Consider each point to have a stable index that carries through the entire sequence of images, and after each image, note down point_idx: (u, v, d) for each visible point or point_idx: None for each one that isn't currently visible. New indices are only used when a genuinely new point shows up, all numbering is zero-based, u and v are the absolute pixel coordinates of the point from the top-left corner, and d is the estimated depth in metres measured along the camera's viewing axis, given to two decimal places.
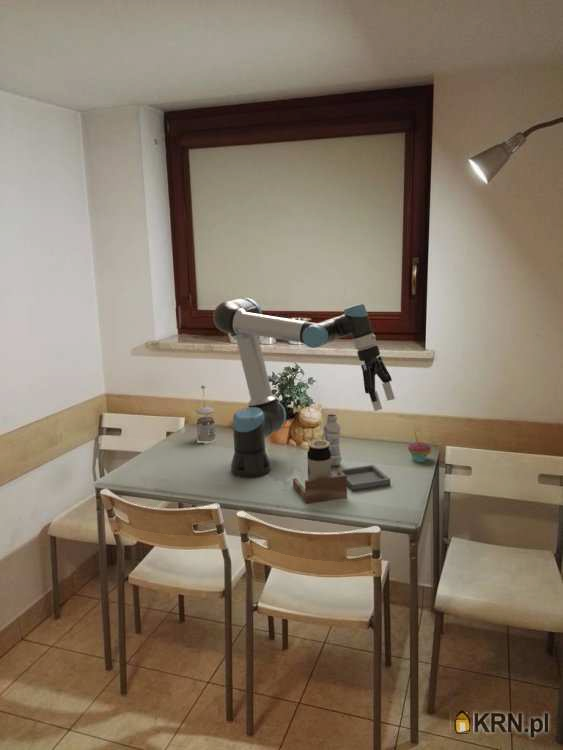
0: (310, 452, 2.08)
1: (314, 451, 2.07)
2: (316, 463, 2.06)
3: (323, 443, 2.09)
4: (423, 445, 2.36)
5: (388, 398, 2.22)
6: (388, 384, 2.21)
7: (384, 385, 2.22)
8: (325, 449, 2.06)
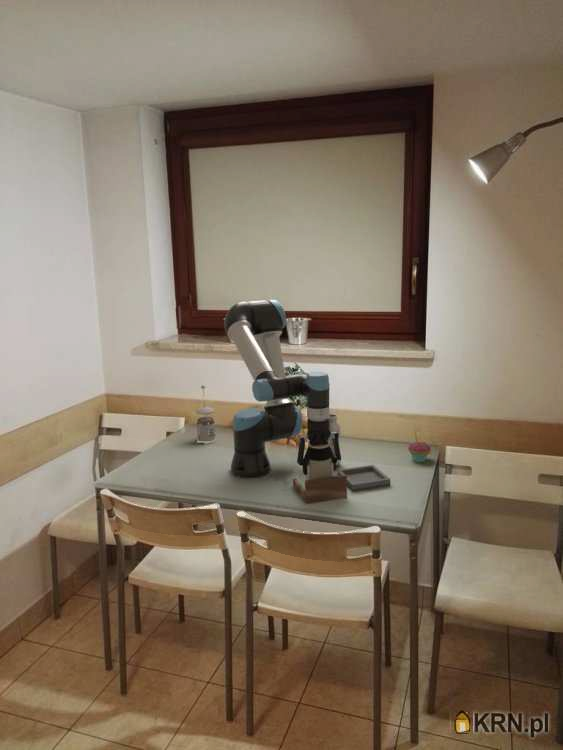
0: None
1: (314, 450, 2.07)
2: (316, 463, 2.06)
3: None
4: (423, 445, 2.36)
5: None
6: (331, 465, 2.11)
7: None
8: (325, 449, 2.06)
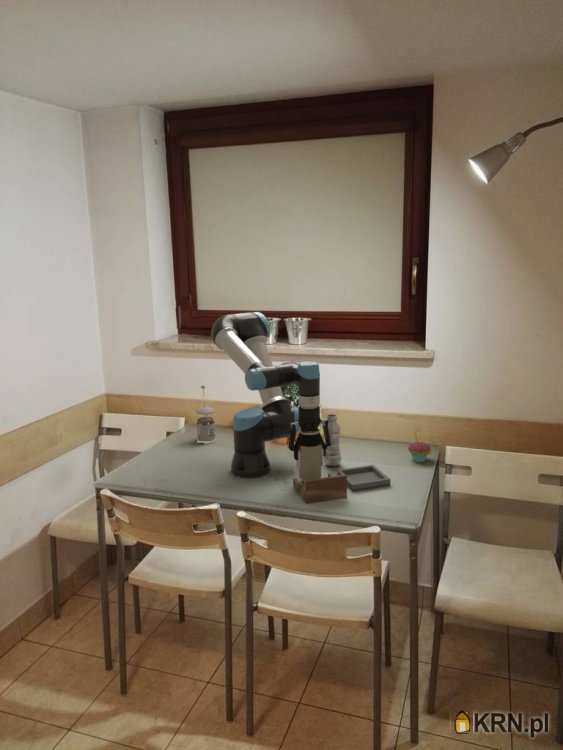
0: None
1: (304, 437, 2.15)
2: (307, 449, 2.15)
3: None
4: (423, 445, 2.36)
5: None
6: (321, 451, 2.20)
7: None
8: (315, 435, 2.15)
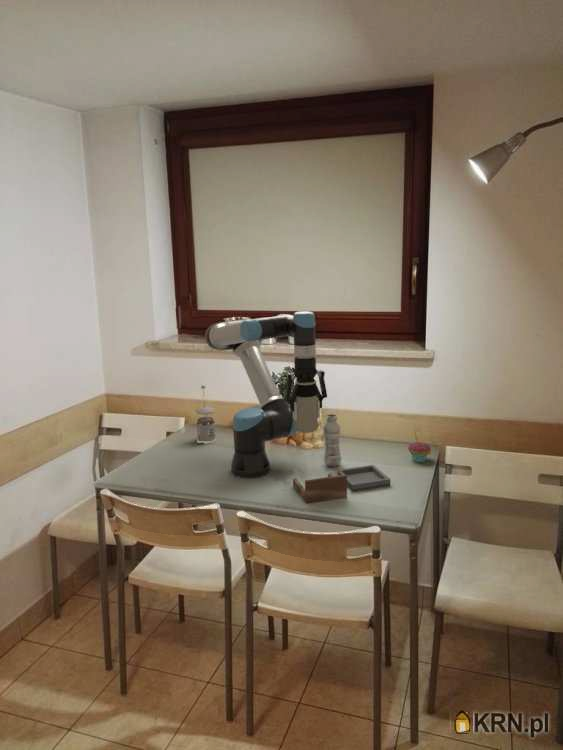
0: None
1: (300, 387, 2.14)
2: (303, 399, 2.14)
3: None
4: (423, 445, 2.36)
5: None
6: (317, 402, 2.19)
7: None
8: (311, 386, 2.14)
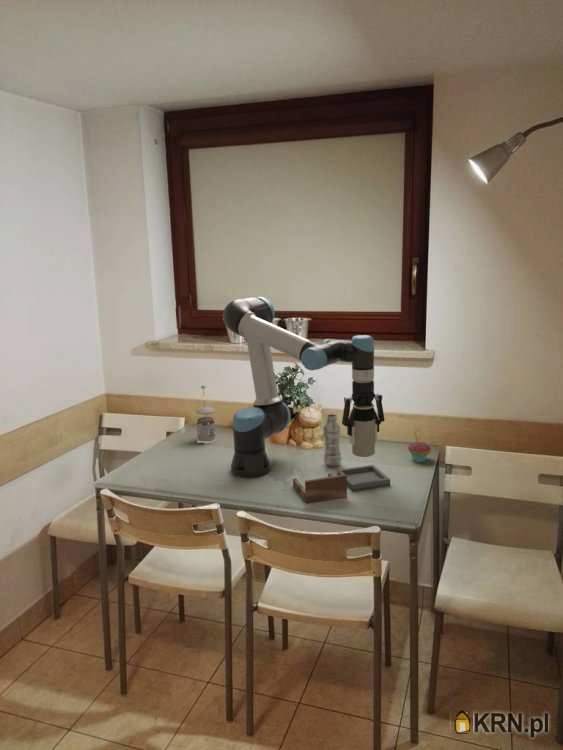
0: None
1: (359, 411, 2.12)
2: (361, 424, 2.12)
3: None
4: (423, 445, 2.36)
5: None
6: None
7: None
8: (370, 410, 2.12)
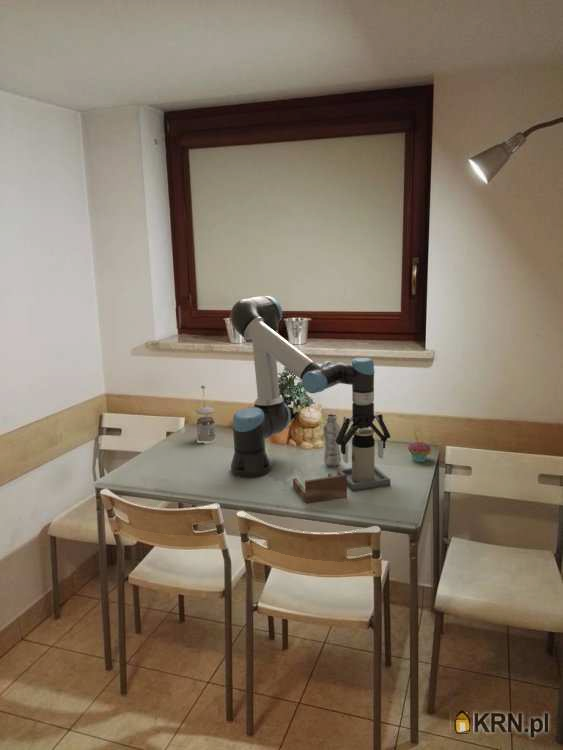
0: (355, 439, 2.16)
1: (359, 438, 2.15)
2: (361, 450, 2.15)
3: (367, 431, 2.17)
4: (423, 445, 2.36)
5: (378, 454, 2.22)
6: (380, 443, 2.19)
7: (378, 441, 2.21)
8: (370, 436, 2.15)
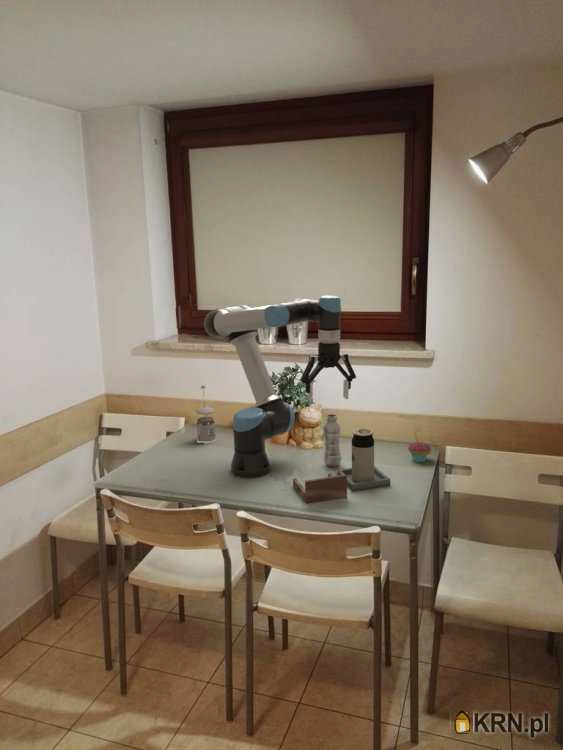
0: (355, 439, 2.16)
1: (358, 438, 2.15)
2: (361, 450, 2.15)
3: (367, 431, 2.17)
4: (423, 445, 2.36)
5: (344, 395, 2.20)
6: (346, 383, 2.17)
7: (344, 382, 2.19)
8: (369, 436, 2.15)
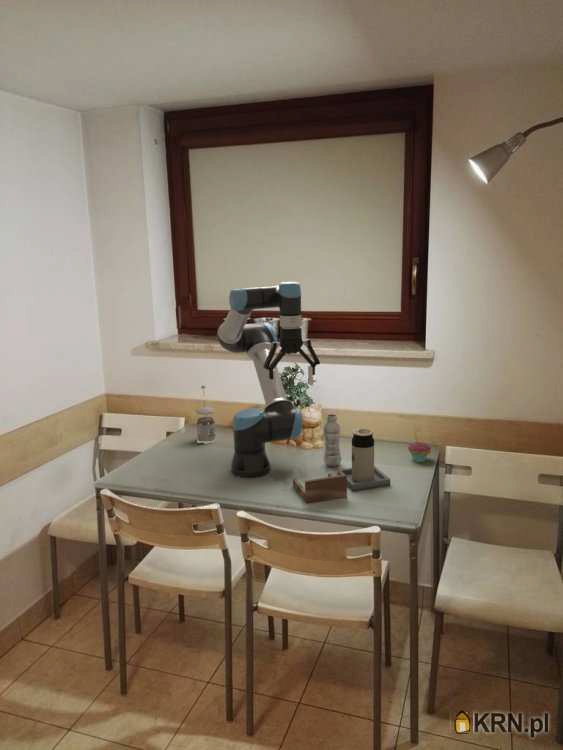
0: (355, 439, 2.16)
1: (358, 438, 2.15)
2: (361, 450, 2.15)
3: (367, 431, 2.17)
4: (423, 445, 2.36)
5: (308, 381, 2.21)
6: (310, 369, 2.18)
7: (308, 368, 2.20)
8: (369, 436, 2.15)
